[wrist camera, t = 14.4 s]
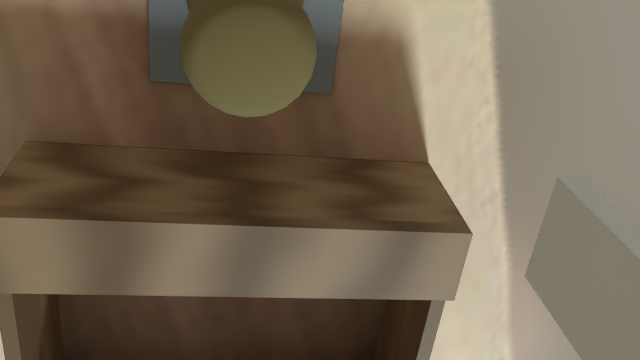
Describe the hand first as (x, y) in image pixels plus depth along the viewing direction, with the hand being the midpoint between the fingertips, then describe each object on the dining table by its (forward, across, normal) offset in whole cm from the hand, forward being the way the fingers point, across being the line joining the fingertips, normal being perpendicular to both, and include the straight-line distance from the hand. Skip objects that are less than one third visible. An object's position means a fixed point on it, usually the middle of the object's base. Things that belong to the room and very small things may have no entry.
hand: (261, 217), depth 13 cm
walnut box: (+22, 0, -19) cm, 29 cm away
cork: (+21, 0, 0) cm, 21 cm away
